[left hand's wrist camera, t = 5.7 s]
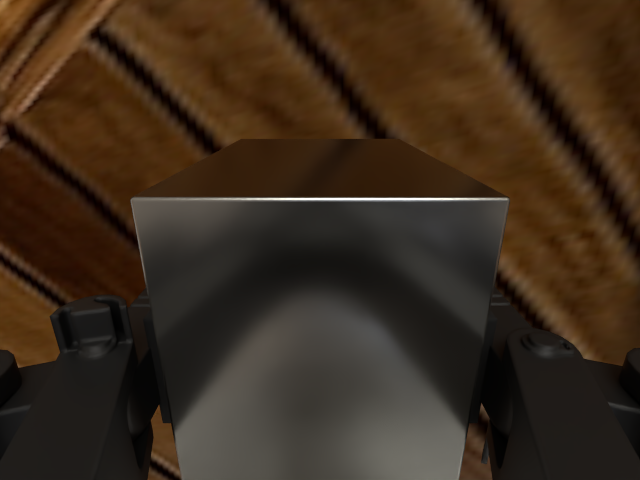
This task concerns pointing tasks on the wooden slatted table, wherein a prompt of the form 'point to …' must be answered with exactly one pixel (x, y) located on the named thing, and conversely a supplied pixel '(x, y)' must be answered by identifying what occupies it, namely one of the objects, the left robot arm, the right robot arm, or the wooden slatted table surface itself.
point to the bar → (320, 308)
